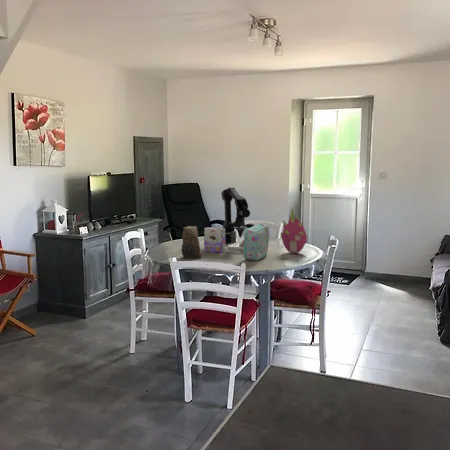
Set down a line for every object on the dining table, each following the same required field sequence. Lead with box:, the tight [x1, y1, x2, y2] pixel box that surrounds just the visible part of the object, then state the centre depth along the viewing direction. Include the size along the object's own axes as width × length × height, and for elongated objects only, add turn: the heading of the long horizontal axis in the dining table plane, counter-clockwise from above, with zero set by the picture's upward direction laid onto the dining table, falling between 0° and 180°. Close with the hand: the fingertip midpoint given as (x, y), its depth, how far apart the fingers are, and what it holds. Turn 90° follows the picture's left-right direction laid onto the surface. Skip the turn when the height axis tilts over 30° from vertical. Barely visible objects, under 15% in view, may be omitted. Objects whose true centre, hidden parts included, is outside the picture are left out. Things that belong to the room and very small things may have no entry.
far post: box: [230, 230, 237, 245], centre depth 364 cm, size 5×5×10 cm
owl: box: [181, 225, 202, 260], centre depth 320 cm, size 13×13×20 cm
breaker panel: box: [227, 242, 244, 251], centre depth 350 cm, size 16×14×4 cm
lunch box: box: [243, 223, 270, 261], centre depth 317 cm, size 27×10×21 cm, turn 159°
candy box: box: [203, 226, 226, 254], centre depth 338 cm, size 14×6×16 cm, turn 65°
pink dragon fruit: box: [280, 208, 308, 254], centre depth 330 cm, size 18×14×30 cm
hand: (240, 237), depth 350 cm, fingers closed
